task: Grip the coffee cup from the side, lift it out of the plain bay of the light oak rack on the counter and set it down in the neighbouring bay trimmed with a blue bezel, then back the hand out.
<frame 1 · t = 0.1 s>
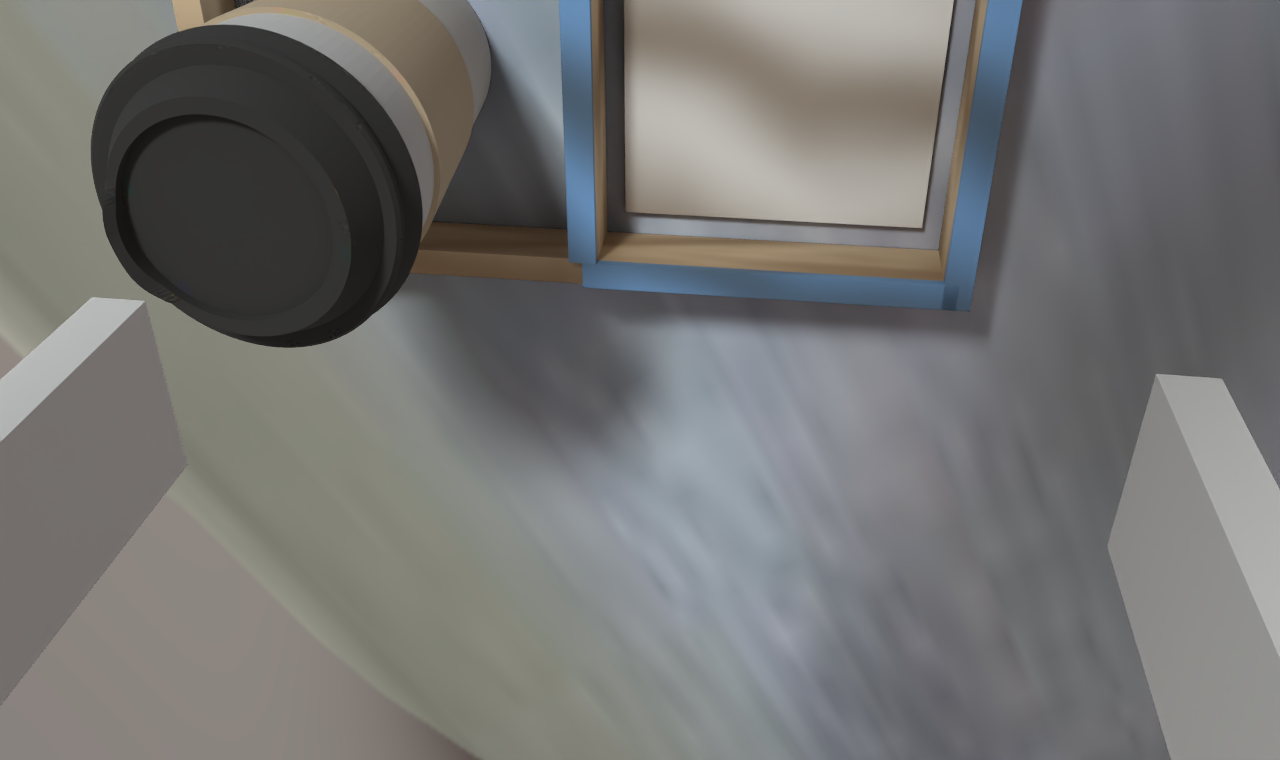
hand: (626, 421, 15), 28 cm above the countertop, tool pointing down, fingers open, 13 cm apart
coffee cup: (402, 54, 43), resting in oak rack
oak rack: (590, 64, 42), on the countertop
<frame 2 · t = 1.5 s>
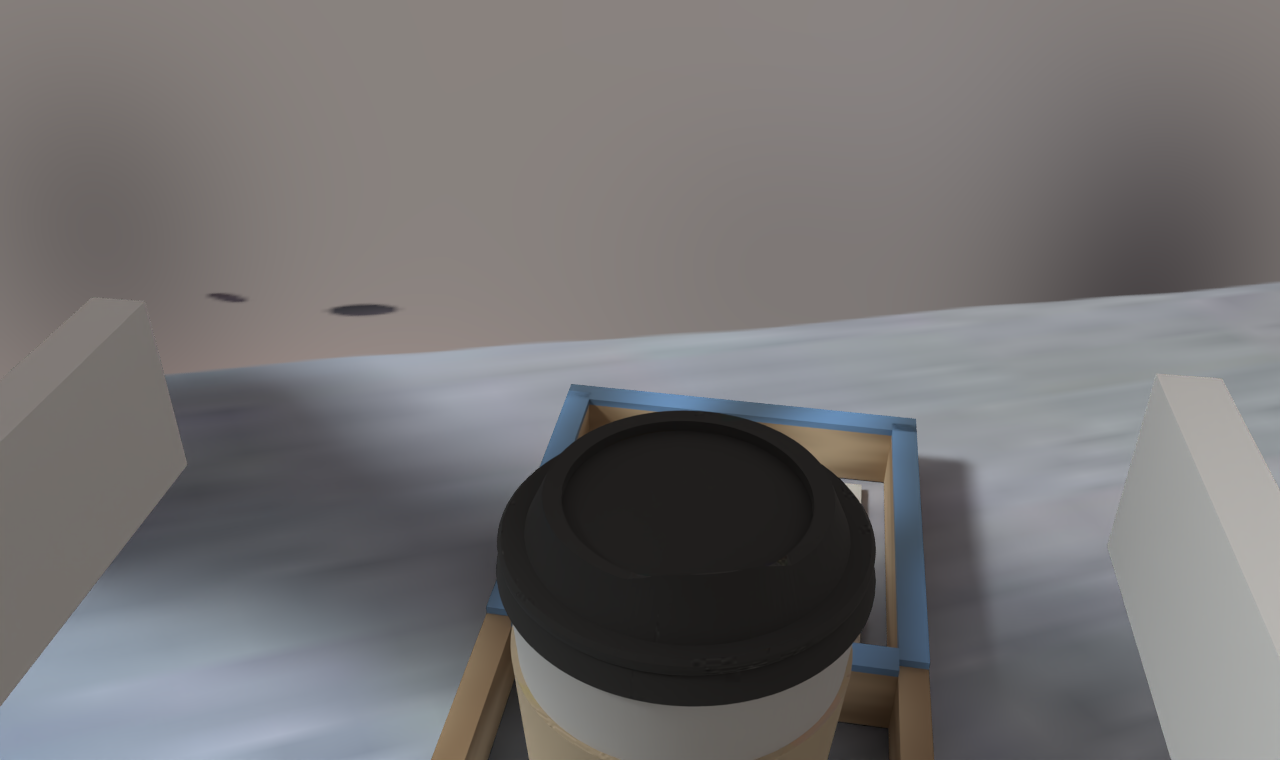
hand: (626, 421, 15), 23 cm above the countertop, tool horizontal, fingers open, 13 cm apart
oak rack: (699, 691, 41), on the countertop
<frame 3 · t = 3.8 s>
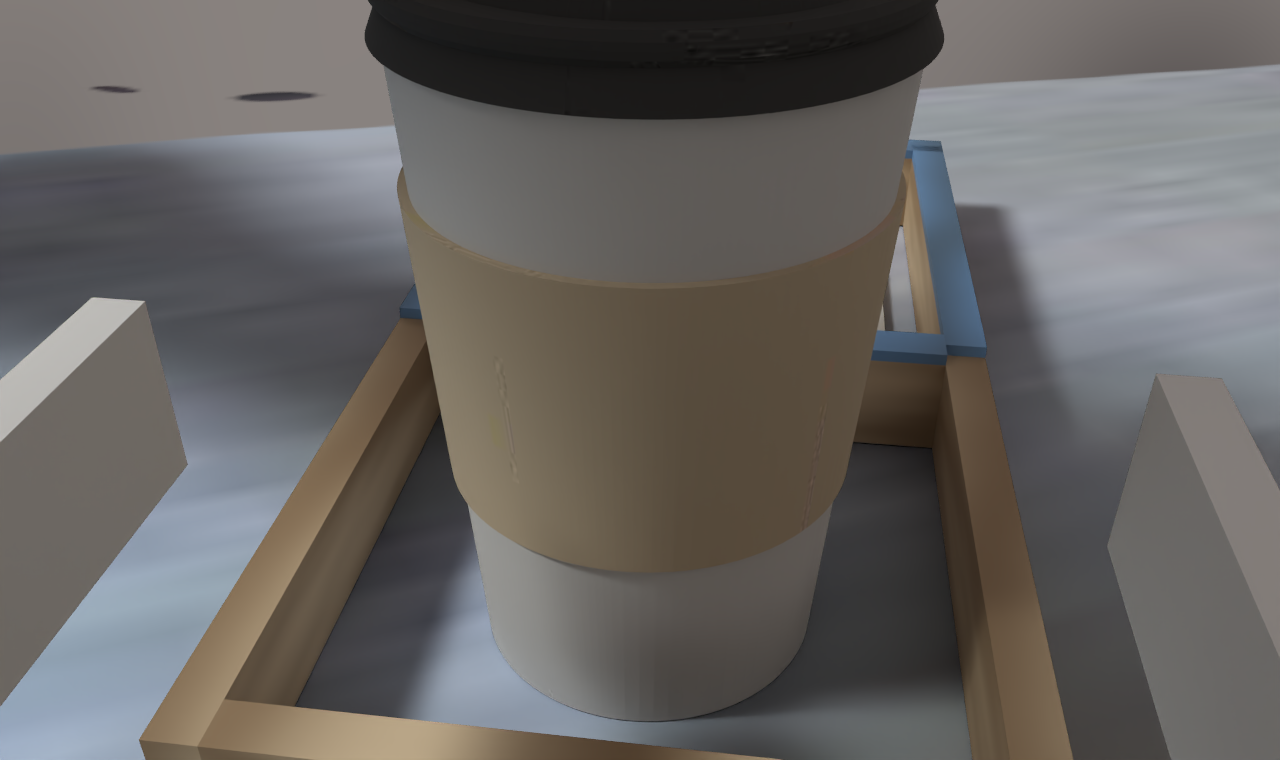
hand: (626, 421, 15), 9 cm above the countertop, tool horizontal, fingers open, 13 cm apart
coffee cup: (649, 606, 25), resting in oak rack
oak rack: (682, 417, 31), on the countertop
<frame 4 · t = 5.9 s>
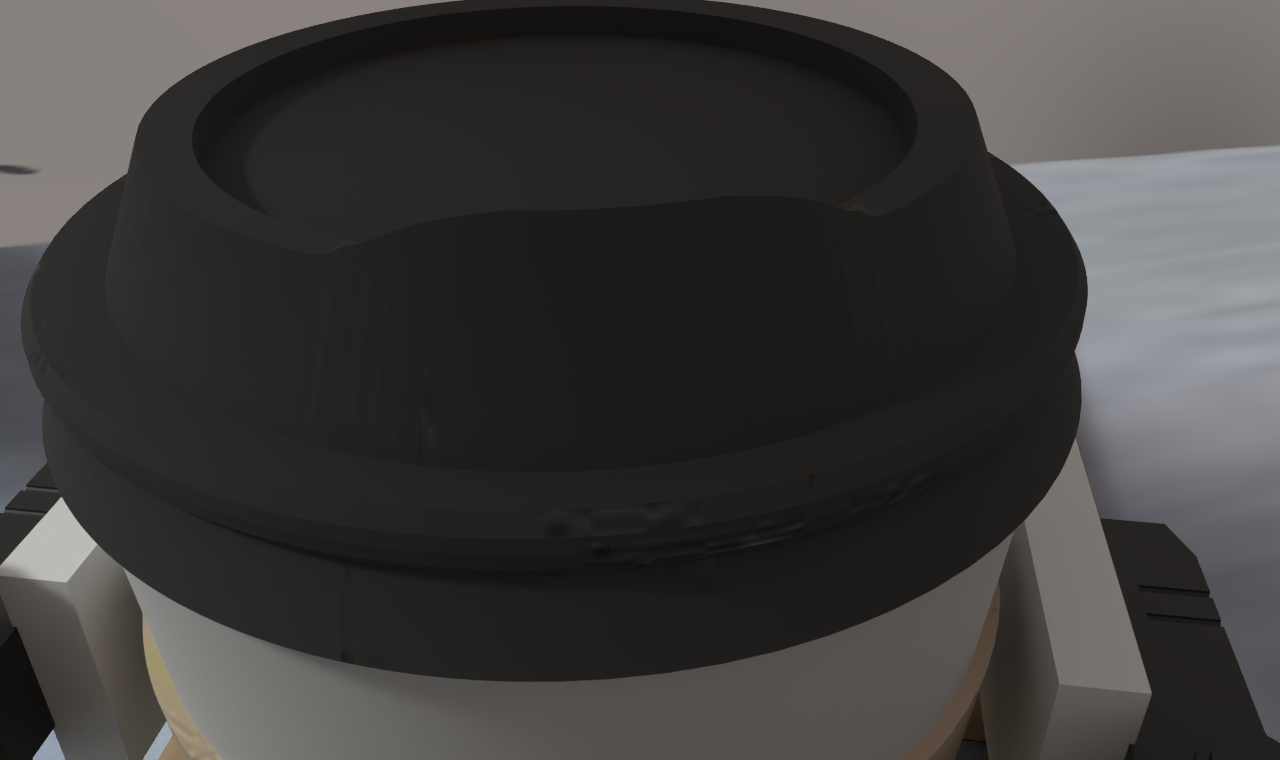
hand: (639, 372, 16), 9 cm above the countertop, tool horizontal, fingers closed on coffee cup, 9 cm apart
oak rack: (656, 686, 23), on the countertop
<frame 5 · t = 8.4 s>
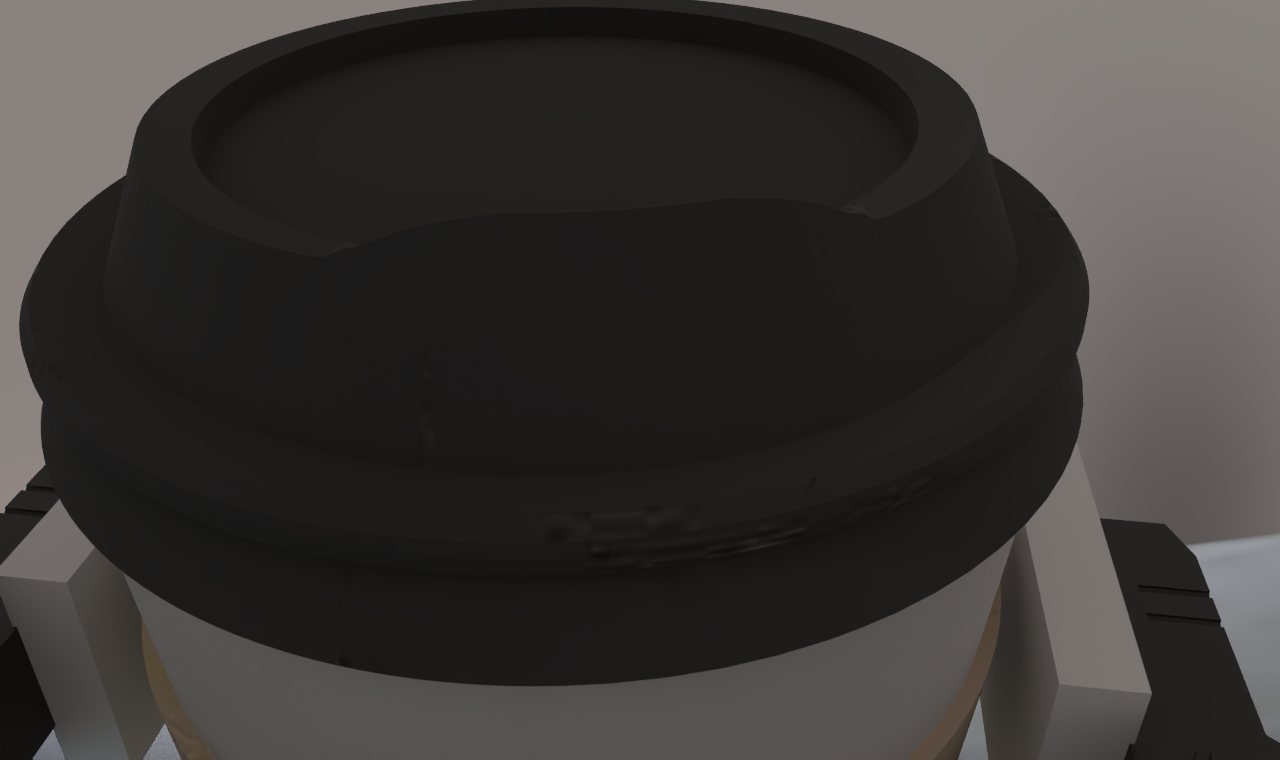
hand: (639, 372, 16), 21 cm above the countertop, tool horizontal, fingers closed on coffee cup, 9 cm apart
when the fingers open (10 cm above the countertop, at t = 11.1 s): coffee cup drops 1 cm, resting on oak rack.
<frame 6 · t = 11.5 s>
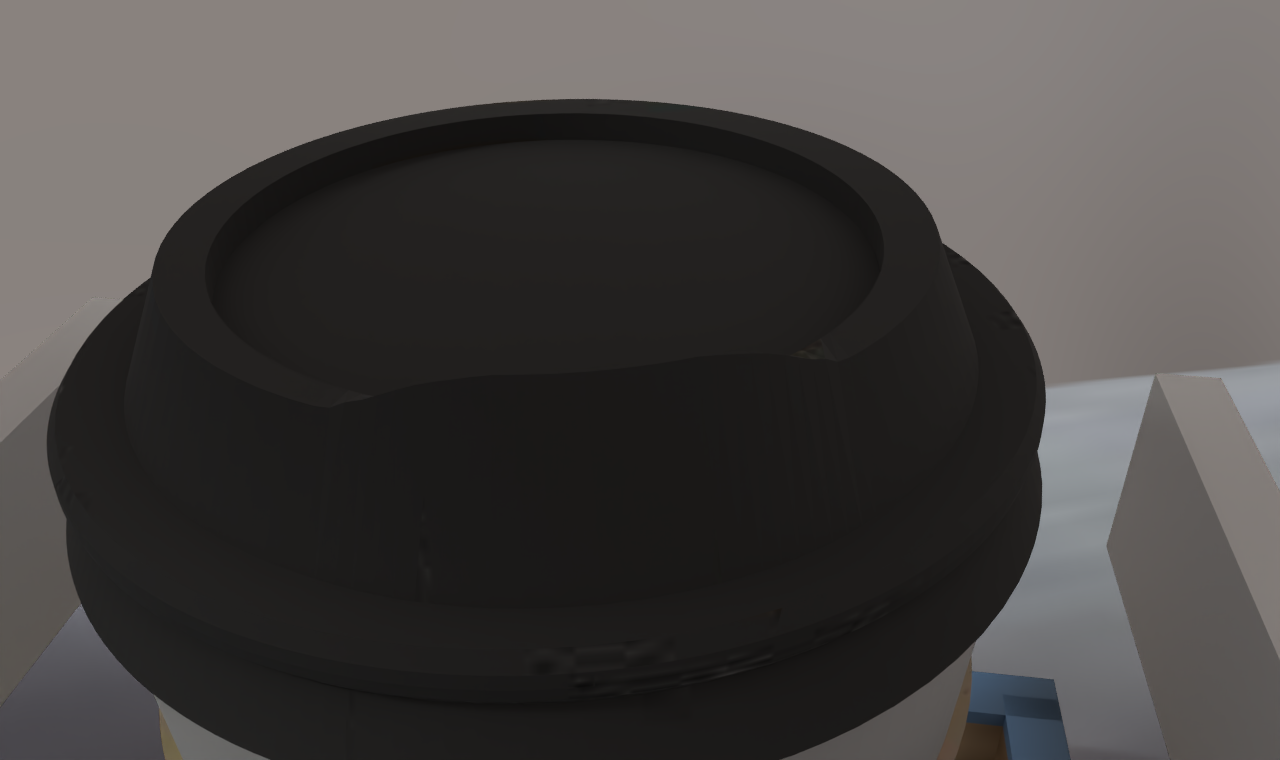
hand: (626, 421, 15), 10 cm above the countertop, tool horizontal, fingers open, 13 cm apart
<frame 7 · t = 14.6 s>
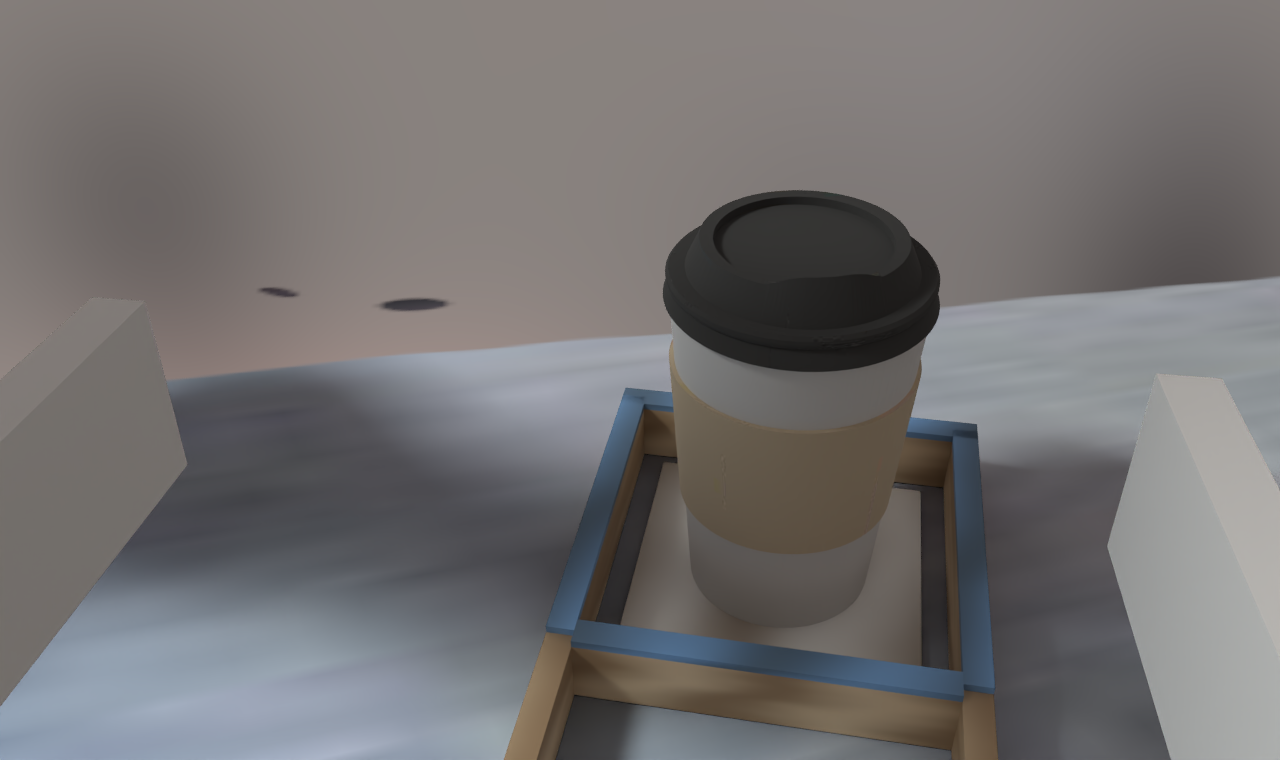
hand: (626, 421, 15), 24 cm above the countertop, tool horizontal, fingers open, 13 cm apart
coffee cup: (777, 566, 46), resting on oak rack
oak rack: (759, 710, 41), on the countertop
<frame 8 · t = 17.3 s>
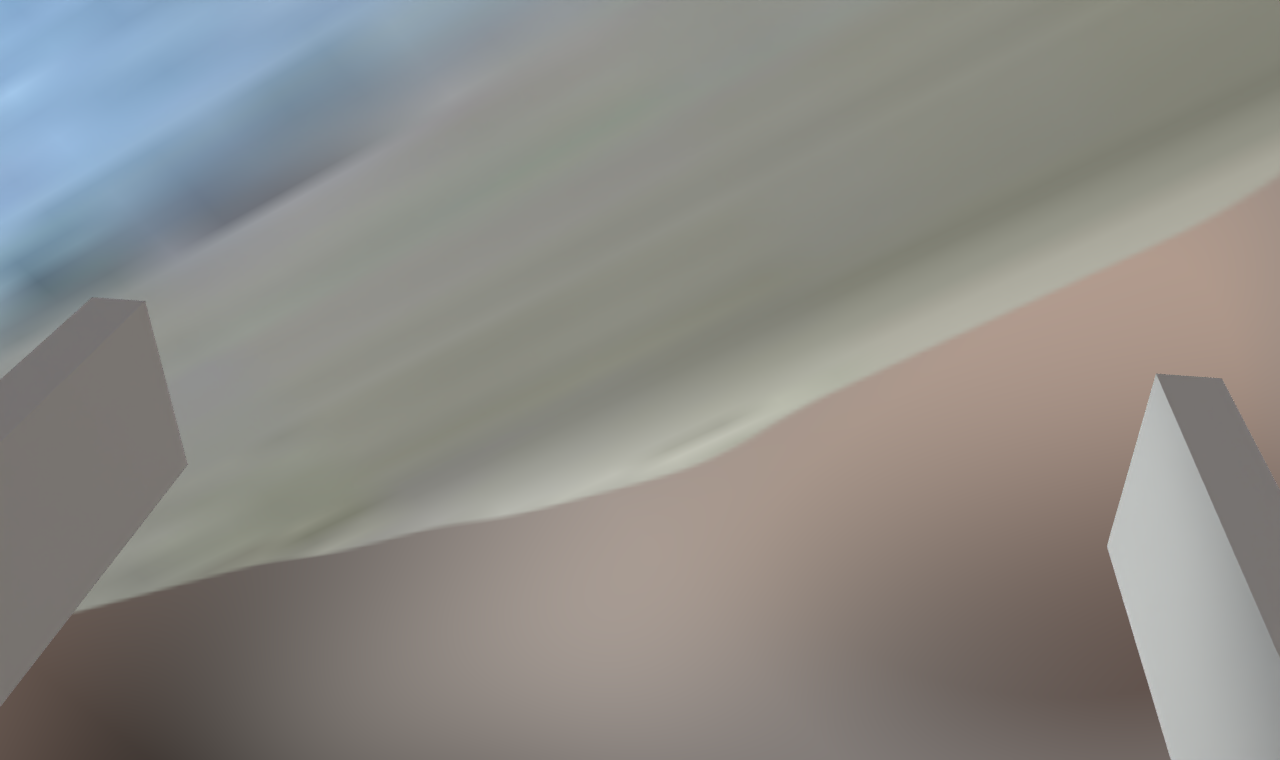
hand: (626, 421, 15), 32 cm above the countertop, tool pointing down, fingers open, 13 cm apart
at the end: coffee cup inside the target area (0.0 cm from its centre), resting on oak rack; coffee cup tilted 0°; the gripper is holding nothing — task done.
